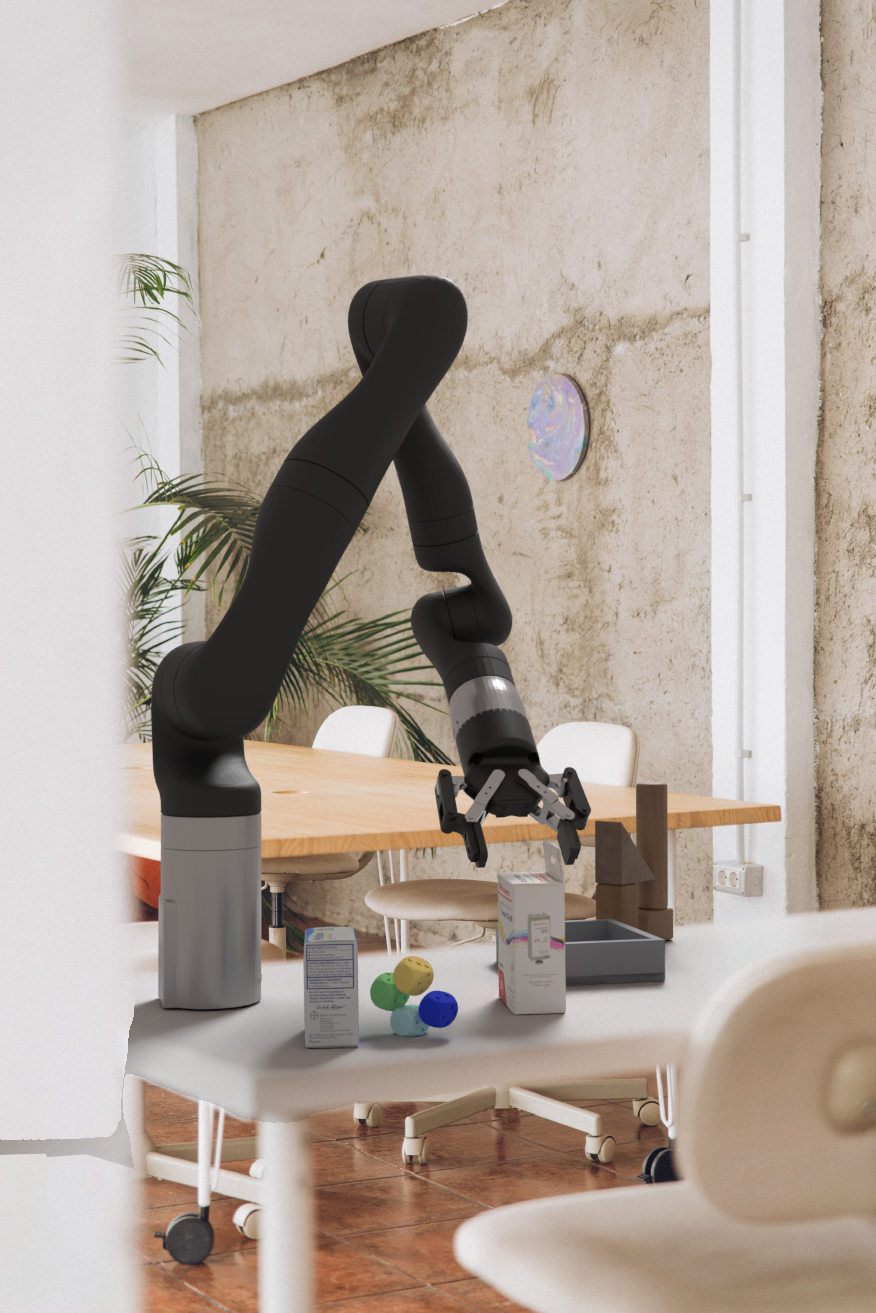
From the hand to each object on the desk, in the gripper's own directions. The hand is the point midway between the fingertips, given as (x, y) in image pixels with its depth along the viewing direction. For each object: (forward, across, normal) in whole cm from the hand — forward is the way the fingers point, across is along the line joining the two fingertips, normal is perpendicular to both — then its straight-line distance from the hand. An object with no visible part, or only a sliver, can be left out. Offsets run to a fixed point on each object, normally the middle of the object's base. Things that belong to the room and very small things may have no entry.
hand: (527, 860), depth 146 cm
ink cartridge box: (+10, 0, +9) cm, 13 cm away
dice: (+16, -13, +2) cm, 21 cm away
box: (-1, +10, +20) cm, 22 cm away
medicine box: (+16, -20, +2) cm, 26 cm away
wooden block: (-12, +22, +31) cm, 39 cm away
